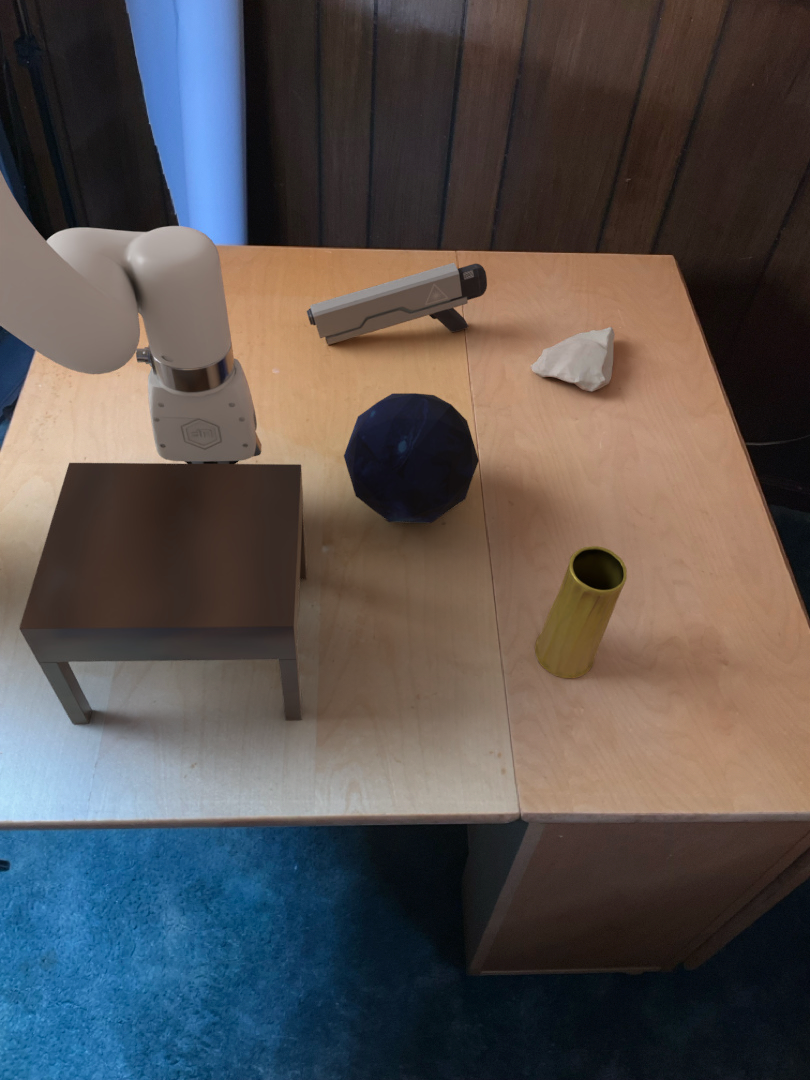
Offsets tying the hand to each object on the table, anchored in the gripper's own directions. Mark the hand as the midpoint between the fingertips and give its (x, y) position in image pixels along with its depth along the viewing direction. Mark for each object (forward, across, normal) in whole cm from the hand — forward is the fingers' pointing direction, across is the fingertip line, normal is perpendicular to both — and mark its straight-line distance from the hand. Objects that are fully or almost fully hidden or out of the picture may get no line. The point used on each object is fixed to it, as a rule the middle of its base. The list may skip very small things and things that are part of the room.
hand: (218, 490), depth 91 cm
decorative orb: (+2, +22, 0) cm, 22 cm away
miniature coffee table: (+2, -1, -19) cm, 19 cm away
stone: (+3, +48, +26) cm, 54 cm away
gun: (+2, +22, +32) cm, 39 cm away
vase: (+2, +36, -21) cm, 42 cm away
